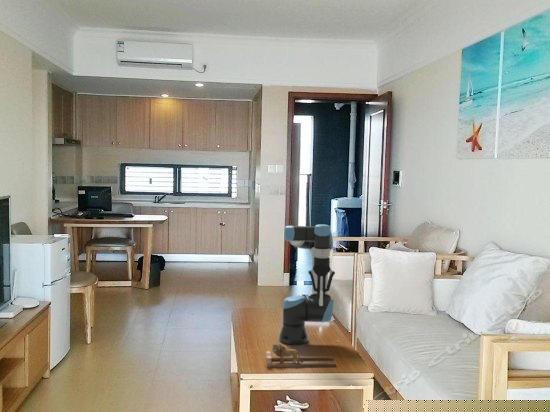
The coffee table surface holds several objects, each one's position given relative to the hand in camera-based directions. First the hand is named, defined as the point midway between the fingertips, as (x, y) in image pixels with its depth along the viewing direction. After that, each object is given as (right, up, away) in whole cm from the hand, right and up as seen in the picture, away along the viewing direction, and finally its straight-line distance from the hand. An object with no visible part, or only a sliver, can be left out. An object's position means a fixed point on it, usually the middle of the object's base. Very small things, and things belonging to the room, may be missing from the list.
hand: (320, 305), depth 257 cm
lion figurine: (-17, -26, -8) cm, 32 cm away
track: (-9, -26, -8) cm, 28 cm away
